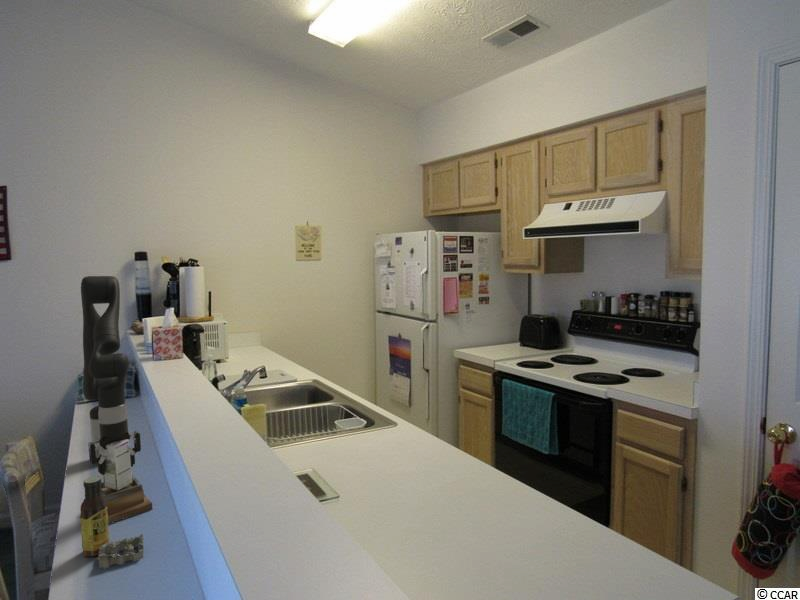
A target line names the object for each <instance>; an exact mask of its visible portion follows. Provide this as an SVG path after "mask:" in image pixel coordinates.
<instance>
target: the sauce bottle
mask: <svg viewBox="0 0 800 600" xmlns="http://www.w3.org/2000/svg"><path fill="white" fill-rule="evenodd" d="M101 483H102V478H101V477H100V476H91V477H88V478H86V479H84V480H83V488H84V499H83V500H82V502H81V505H80V529H81V530H80V533H81V548H82V554H83V556H85V557H90V558H91V557H95V556H97V557H98V555H99V549H100V547H101V546H102V545H104V544H105V543H107V542H110V533H109V532H110V531H109V530H110V528H109V524H108V509H107V505H106V503H105V501H104V498H103V496H102V492H101Z"/></svg>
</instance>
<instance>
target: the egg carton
mask: <svg viewBox="0 0 800 600" xmlns="http://www.w3.org/2000/svg"><path fill="white" fill-rule="evenodd" d="M136 548H137V550H138V551H137V553H135V549H136ZM121 550H123V555H121V554H120V552H121ZM119 551H120V552H119ZM118 552H119V553H118ZM109 553H110V554H109ZM116 553H118V554H116ZM111 554H112V555H111ZM113 554H116V555H113ZM144 556H145V555H144V535H143V533H142V534H140V535H138V536H135V537H131V538H127V537H126V538H124V539H120V540H117V541H109V542H107V543H105V544H104V545H102V546H101V547H100V549H99V555H97V560H98V567H99V568H102V569H105V570H106V569H109V568H110V567H111V566H113V565H116V564H117V565H119V566H120V565H121V566H122V565H125V563H126V562H128V561H133V562H138V561H140V559H141V558H144Z"/></svg>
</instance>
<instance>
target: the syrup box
mask: <svg viewBox="0 0 800 600" xmlns="http://www.w3.org/2000/svg"><path fill="white" fill-rule="evenodd" d="M127 445H128V446H129V447H130V439H126V440H123V441H121V442H119V441H117V442H114V444H111V445H110V446H109V444H108V445H106V448H108V456H107V457H106V458H105V460H104V461H103V463H104V468H105V475H102V479H103V482H104V488H109V489H113V490H120V489H122V488H124V487H126V486H127V485H129V484H131V483H132V475H133V473H132V467H131V460H130V450H129V451H127ZM101 452H105V449H104V448H103V447H101Z"/></svg>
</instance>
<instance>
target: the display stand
mask: <svg viewBox="0 0 800 600" xmlns="http://www.w3.org/2000/svg"><path fill="white" fill-rule="evenodd" d="M101 492H102V496H103V498H104V501H105V503H106V505H107V509H108V525H111V524H113V523H112V522H114V523H116V522H115V521H117V522H119V521H118V520H120V521H122V520H121V519H123V518H126V517H129V516H132V515H134V516H137V515H139V513H140V514H143V513H147V512H149V511H151V510H153V502H152V501H151V500H150V499H149V498H148V497H147V496H146V495H145V493H144V489H143V484H142V483H141V482H140V481H139V480H138V479H137V478H136V477H135V476H134V475H133V474H132V483H131V484H129V485H127V486H126V487H124V488H122V489H120V490H113V489H109V488H104V481H101ZM142 512H143V513H142ZM136 514H137V515H136ZM132 517H133V516H132ZM129 518H130V517H129ZM126 519H127V518H126ZM123 520H124V519H123ZM110 523H111V524H110Z"/></svg>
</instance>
